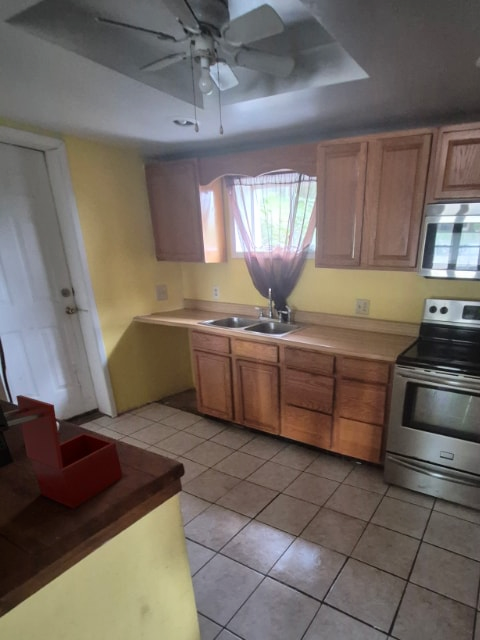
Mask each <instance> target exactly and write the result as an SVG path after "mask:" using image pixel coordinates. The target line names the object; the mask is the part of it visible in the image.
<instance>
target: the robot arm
mask: <svg viewBox="0 0 480 640" xmlns="http://www.w3.org/2000/svg"><path fill="white" fill-rule="evenodd" d="M4 413H5V412H4V411H3V408H2V406H1V404H0V469H2V468H4V467H6V466H9V465H11V464H13V463H14V460H13V457H12V454H11V451H10V449H9V446H8V442H7V439H6V436H5V434H4V432H6V431H9V430H10V426H8V423H7V422H8V421H7V417H5V416H4Z"/></svg>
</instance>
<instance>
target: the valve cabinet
mask: <svg viewBox="0 0 480 640" xmlns="http://www.w3.org/2000/svg"><path fill="white" fill-rule="evenodd" d="M60 450H61V457H62V463H63V468H62V469H60V470H59V469H57V468H54V467H52V466H49V465H46V464H44V463H41V462H39V461H36V460H34V459H31V458H29V459H30V463H31V466H32V468H33V472H34V475H35V478H36V481H37V484H38V487H39V490H40V493H41V495H43V496H45V497H47V498H49V499H51V500H53V501H56V502H58V503H60V504H61V505H64V506H66V507H69V508H71V509H75V508H76V507H78V506H79V505H81V504H82V503H84V502H85V501H87V500H89V499H91V497H92V498H93V496H95V495H97V494H98V493H100V492H101V491H103V490H104V489H106V488H108V487H110V485H112V484H114V483H116V482H117V481H119V480H120V479H122V478H123V477H124V476H123V472H122V468H121V464H120V458H119V453H118V448H117V444H116V442H115V441H112V440H108V439H105V438H102V437H98V436H95V435H93V434H89V433H86V432H83V433H81V434H79V435H77V436H75V437H72V438H70V439H68V440H66V441H64V442H61V443H60Z"/></svg>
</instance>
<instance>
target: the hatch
mask: <svg viewBox="0 0 480 640" xmlns="http://www.w3.org/2000/svg"><path fill="white" fill-rule="evenodd" d="M15 398H16V403H17V409H13V410H9V411H6V412H3V413H4V416H5V418H9V417H12V416H16V415H19V418H16V419H13V420H8V421H7V423H8V426H9V427H11V426H15V425H19V424H21V430H22V435H23V441H24V447H25V452H26V457H27V458H29V459H30V458H31V459H34V460H36V461H39V462H41V463H44V464H46V465H49V466H52V467H54V468H57V469H59V470H60V469H62V468H63V463H62V457H61V450H60V444H61V443H60V437H59V431H58V430H57V423H56V422H57V417H56V411H55V405H54V404H52V403H48V402H46V401H41V400H39V399H35V398H31V397H28V396H25V395H22V394H19V395H16V397H15Z"/></svg>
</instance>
